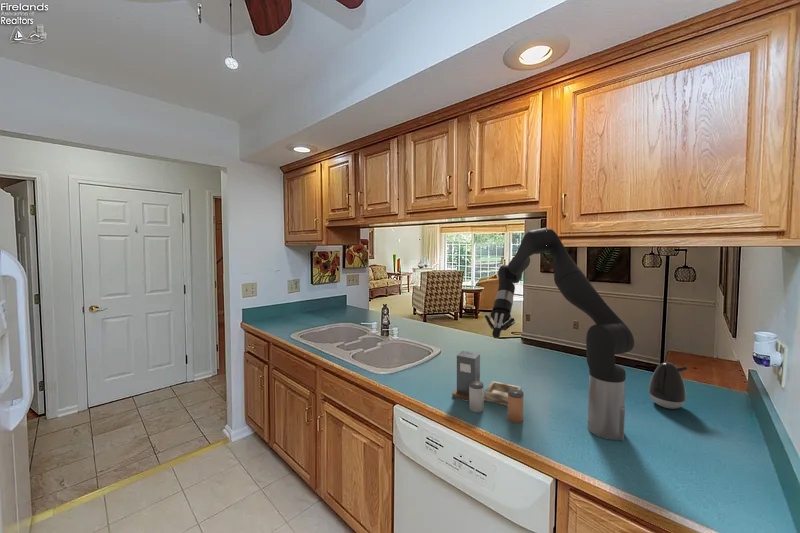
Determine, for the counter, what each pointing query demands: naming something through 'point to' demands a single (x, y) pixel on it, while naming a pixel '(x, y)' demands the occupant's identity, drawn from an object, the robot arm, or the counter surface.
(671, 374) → the pump dispenser
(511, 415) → the cylinder
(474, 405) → the cylinder
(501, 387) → the tray
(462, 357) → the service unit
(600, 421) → the robot arm
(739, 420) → the counter surface
